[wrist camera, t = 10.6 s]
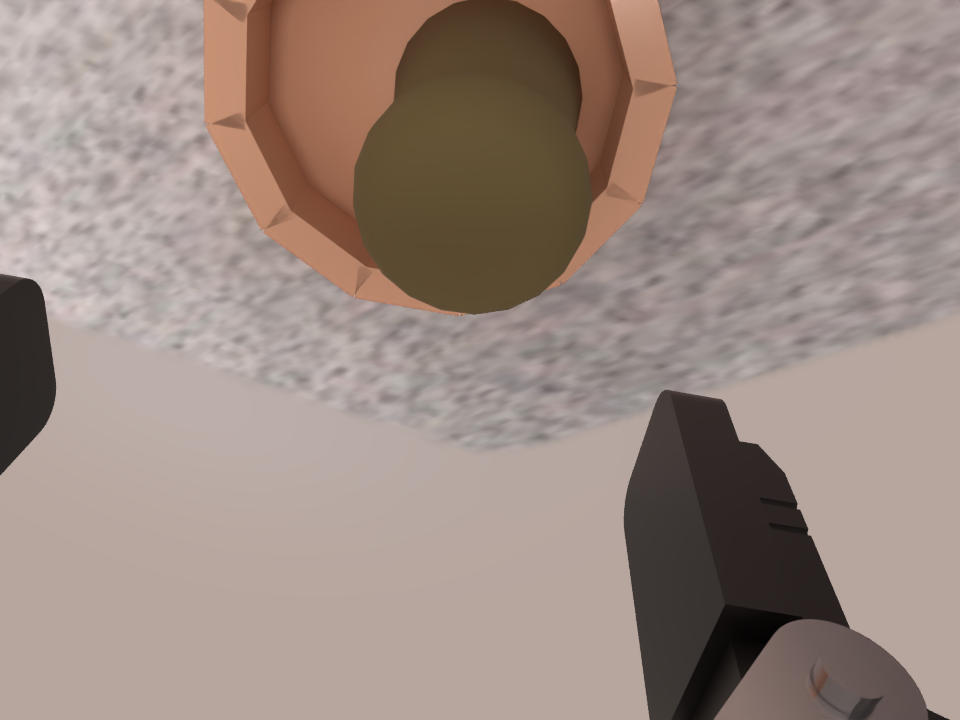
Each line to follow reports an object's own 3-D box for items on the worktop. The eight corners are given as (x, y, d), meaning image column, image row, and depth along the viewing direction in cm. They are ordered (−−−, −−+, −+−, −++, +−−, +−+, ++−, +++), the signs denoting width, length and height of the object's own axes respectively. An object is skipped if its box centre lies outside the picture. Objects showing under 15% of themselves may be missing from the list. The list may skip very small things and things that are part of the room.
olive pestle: (510, 224, 27) (504, 402, 18) (359, 123, 26) (266, 259, 16) (622, 75, 25) (684, 191, 15) (461, -48, 23) (420, -3, 14)
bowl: (707, -114, 23) (735, -114, 20) (594, 295, 30) (602, 341, 27) (245, -209, 22) (201, -224, 19) (238, 232, 29) (205, 272, 26)
